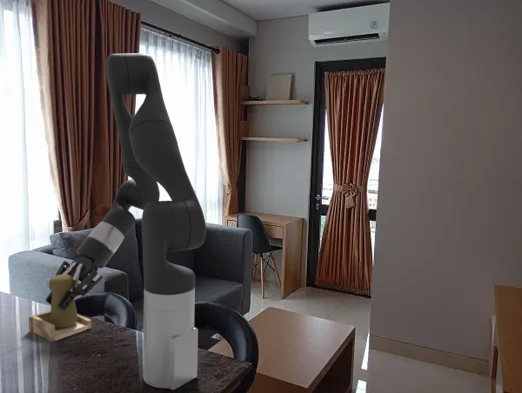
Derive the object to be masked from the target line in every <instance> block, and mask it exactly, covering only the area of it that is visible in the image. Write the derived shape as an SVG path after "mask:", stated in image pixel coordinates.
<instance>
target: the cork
mask: <svg viewBox="0 0 522 393" xmlns="http://www.w3.org/2000/svg"><path fill="white" fill-rule="evenodd" d="M72 279H73V278H72V277H71V276H70V275H57V276H55V275H54V276H52V277H51V278H50V279H49V282H48V288H49V290H50V292H51V291H52V301H51V304H50V311H51V315H50V323H51V324H53V325H55V327H56V328H60V327H67V326H70V325H73V324H75V323H76V322H77V321H78V315H77V314H78V313H77V312H78V310H77V306H76V301H75V299H74V300H73V301H72V302H71V304H70V305H69V306H68V307H67V309H66V310H62V309H60V308H59V307H57V304H58V302H59V301H60V300H61V299H62V297H63V296H64V295H65V293H66V292H67V291H68V292H69V289H70V287H71V286H72V284H73V282H72Z"/></svg>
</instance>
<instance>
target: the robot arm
mask: <svg viewBox="0 0 522 393" xmlns="http://www.w3.org/2000/svg"><path fill="white" fill-rule="evenodd" d="M105 68H106V79H107V84H108V89H109V94H110V95H109V96H110V100H111V105H112V109H113V110H112V111H113V113H114V114H113V115H114V121H115V124H116V128H117V133H118V136H119V141H120V142H119V143H120V148H121V159H122V160H121V161H122V168H123V172H124V174H125V175H126V176H127V177H129V179H128V180H126V181H125V182H123V183H122V184H121V185H120V186H119V188H118V191H117V193H116V195H115V198H114V200H113V202H112V205H111V207H110V209H109V211H108V212H107V214H106V215H104V217H103V218H102V220H101V221H100V222H99V223H98V224H97V225H96V226H95V227H94V228H93V229H92V230H91V232H90V233H89V234H88V235H87V237H86V238H85V239H84V241H83V242H82V243H81V244H80V245H79V247H78V248H77V249H76V254H77V257H76V258H74V259H73V260H72V261H71V262H68V261H67V260H63V262H62V263H61V265H60V266H59V268H58V269H57V272H56V273H55V275H54V276H57V275H70V276H71V277H72V278H73V279H72V282H73V284H72V286H71V287H70V289H69V292H68V291H67V292H66V293H65V295H64V296H63V297H62V299H61V300H60V301H59V302H58V304H57V307H59V308H60V309H62V310H66V309H67V307H68V306H69V305H70V304H71V302H72V301H73V300H74V301H75V298H78V297H79V296H81V297H85V296H86V295H87V294H88V292H90V291H91V290H92V289H93V288H94V287H95V286H96V285H98V283H99V282H100V281H101V280H102V279H103V276H102V274H101V273H99V272H98V270H99V269H104V268H105V266H106V265H107V264H108V262H109V261H110V260H111V258H112V257H113V255H115V252H117V250H118V249H119V247H120V246H121V244H122V243H123V241H124V239H125V238H126V236H127V235H128V233H130V231H131V230H132V228H133V227H134V226H135V224H136V217H135V215H134V214H133V213H132V212H130V209H131V207H134V208H136V209H140V210H141V211H142V215H141V237H142V238H141V240H142V268H143V337H142V338H143V341H142V342H143V343H142V344H143V346H142V347H143V351H142V352H143V354H142V355H143V356H142V358H143V359H142V360H143V362H142V363H143V364H142V366H143V368H142V376H143V377H142V378H143V381H144V382H145V383H146V384H147V385H149V386H150V387H153V388H158V389H170V390H172V391H174V390H176V389H178V388H181V387H182V386H183V385H185V384H187V383H189V382H191V381H192V380H193V379H195V378H197V377H198V356H199V354H198V352H199V349H198V348H199V347H198V345H199V343H198V341H199V329H198V328H197V327H195V304H196V303H195V300H196V299H195V296H196V295H195V294H196V292H195V291H196V275H195V272H194V270H192V269H190V268H189V267H186V266H183V265H179V264H175V263H171V262H169V261H168V260H167V254H166V253H168V252H178V251H188V250H189V251H190V250H195V249H199V248H200V247H202V246H203V245H204V243H205V240H206V236H207V224H206V220H205V219H206V218H205V215H204V212H203V209H202V206H201V203H200V201H199V198H198V197H197V194H196V191H195V189H194V187H193V184H192V182H191V180H190V178H189V175H188V173H187V171H186V167H185V164H184V161H183V158H182V154H181V151H180V148H179V147H180V146H179V143H178V139H177V137H176V134H175V129H174V127H173V125H172V122H171V120H170V115H169V112H168V109H167V107H166V104H165V100H164V97H163V93H162V87H161V83H160V77H159V74H158V70H157V64H156V63H155V60H154V59H153V57H152V56H151V55H149V54H147V53H133V52H131V53H129V52H128V53H127V52H126V53H125V52H124V53H110V54H109V55H108V56H107V60H106V66H105ZM131 95H145V97H144V100H143V102H142V104H141V105H140V107H139V108H138V110H137V111H136V112H135V114H134V115H132V114H131V113H130V111H129V108H128V106H127V103H126V98H125V96H131ZM159 185H160V187H162V188H163V189H164V191H165V192H166V193H167V194H168V196H169V199H170V200H160V196H161V195H160V194H161V193H160V187H159ZM44 300H45V303H47V304H49V305H51V301H52V291H51V290H50V292H49V293H48V295H47V297H46V298H45V299H44Z"/></svg>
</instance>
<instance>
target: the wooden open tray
mask: <svg viewBox="0 0 522 393" xmlns="http://www.w3.org/2000/svg"><path fill="white" fill-rule="evenodd" d="M50 315H51V310H48V311H45V312H41V313H38V314H34V315H31V316H29V317H28V328H29V329H28V330H29V331H28V332H30V333H33V334H36V335H38V336H39V337H41V338H43V339H45V340H47V341H49V342H51V343H53V342H54V341H55V342H56V341H58V340H61V339H64V338H66V337H70V336H73V335H76V334H79V333H81V332H84V331H87V329H88V330H90V329H92V319H90V318H88V317H85V316H82V315H81V314H79V313H77V315H78V321H77V322H76V323H75V324H73V325H70V326H67V327H60V328H56V327H55V325H53V324H51V323H50Z"/></svg>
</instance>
